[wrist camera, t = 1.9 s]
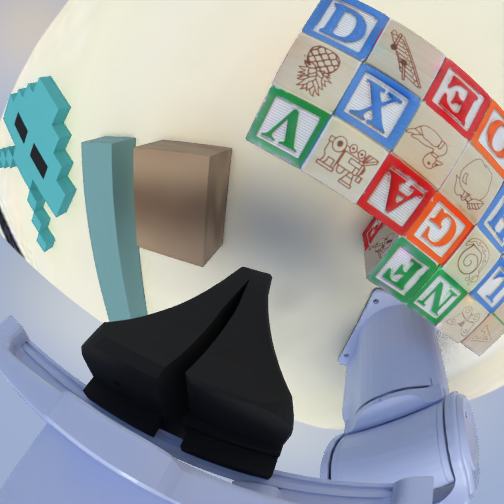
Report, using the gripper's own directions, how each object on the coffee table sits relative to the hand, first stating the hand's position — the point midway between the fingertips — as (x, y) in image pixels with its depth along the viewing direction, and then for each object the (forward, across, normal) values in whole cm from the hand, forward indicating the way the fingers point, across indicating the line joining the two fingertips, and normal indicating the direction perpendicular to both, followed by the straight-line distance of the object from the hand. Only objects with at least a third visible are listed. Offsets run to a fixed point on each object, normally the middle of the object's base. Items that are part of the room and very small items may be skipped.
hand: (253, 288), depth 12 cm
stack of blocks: (+6, -11, -11) cm, 17 cm away
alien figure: (+10, +33, -2) cm, 35 cm away
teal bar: (+9, +16, +7) cm, 20 cm away
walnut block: (+10, +8, 0) cm, 13 cm away
